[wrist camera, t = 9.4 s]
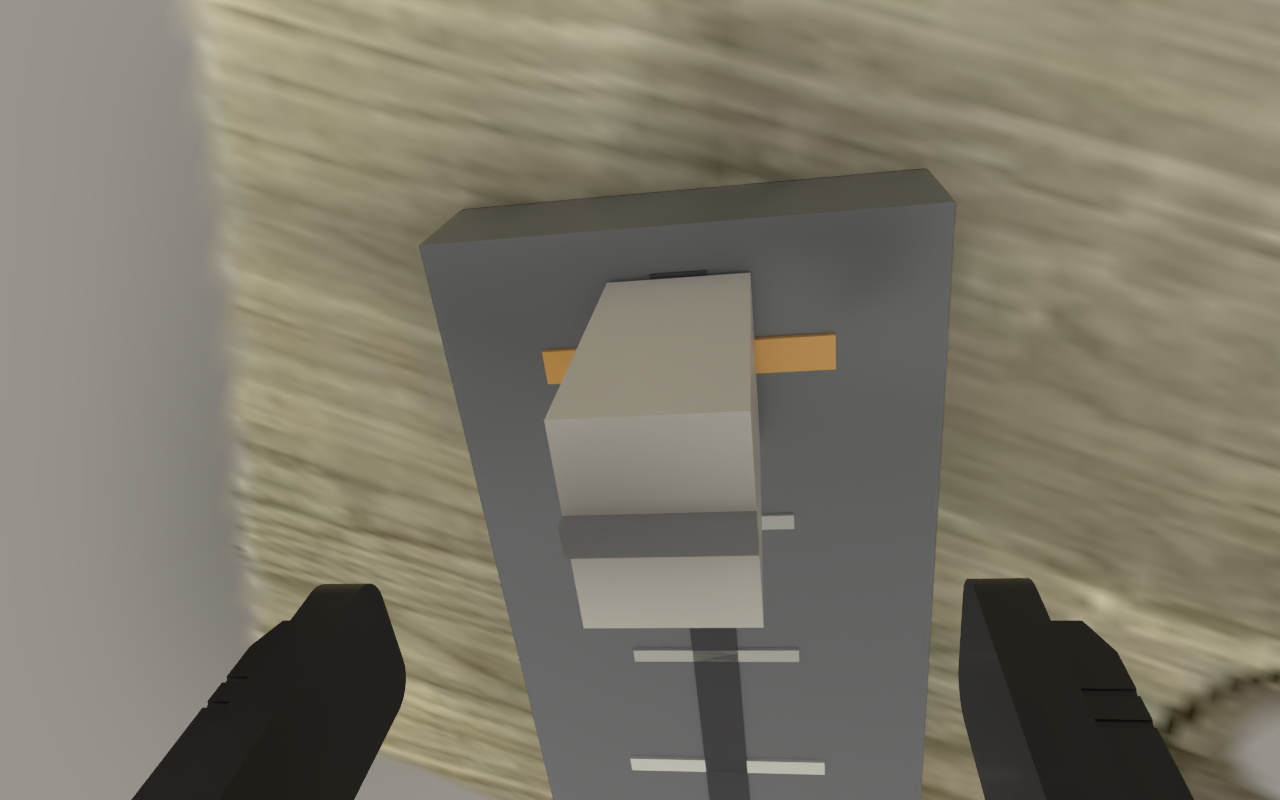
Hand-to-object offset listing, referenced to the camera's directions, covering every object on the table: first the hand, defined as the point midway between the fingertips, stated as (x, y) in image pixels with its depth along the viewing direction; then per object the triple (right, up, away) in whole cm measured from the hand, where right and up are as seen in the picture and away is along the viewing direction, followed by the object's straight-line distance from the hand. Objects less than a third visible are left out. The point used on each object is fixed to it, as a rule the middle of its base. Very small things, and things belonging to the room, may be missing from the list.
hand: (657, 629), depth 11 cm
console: (+2, 0, +12) cm, 13 cm away
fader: (+1, +4, +7) cm, 8 cm away
